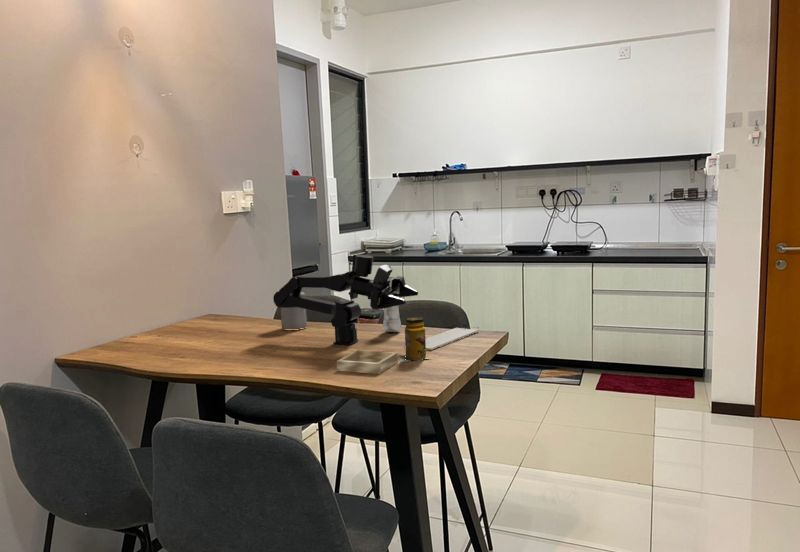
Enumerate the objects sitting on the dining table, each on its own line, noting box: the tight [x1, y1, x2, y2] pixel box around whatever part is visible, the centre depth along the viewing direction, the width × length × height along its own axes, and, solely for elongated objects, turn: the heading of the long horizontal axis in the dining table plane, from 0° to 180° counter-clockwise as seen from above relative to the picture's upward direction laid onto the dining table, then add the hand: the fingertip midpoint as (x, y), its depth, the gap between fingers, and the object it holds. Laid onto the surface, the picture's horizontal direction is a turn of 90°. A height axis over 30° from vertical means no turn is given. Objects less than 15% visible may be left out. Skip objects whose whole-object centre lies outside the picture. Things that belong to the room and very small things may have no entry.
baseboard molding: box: [403, 324, 480, 351], centre depth 200 cm, size 31×3×12 cm
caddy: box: [336, 349, 399, 375], centre depth 169 cm, size 13×13×3 cm
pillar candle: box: [280, 291, 308, 330], centre depth 229 cm, size 10×10×15 cm
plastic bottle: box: [382, 276, 402, 333], centre depth 214 cm, size 6×7×20 cm
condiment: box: [398, 316, 427, 363], centre depth 176 cm, size 7×8×12 cm
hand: (411, 297), depth 188 cm, fingers open, 9 cm apart
